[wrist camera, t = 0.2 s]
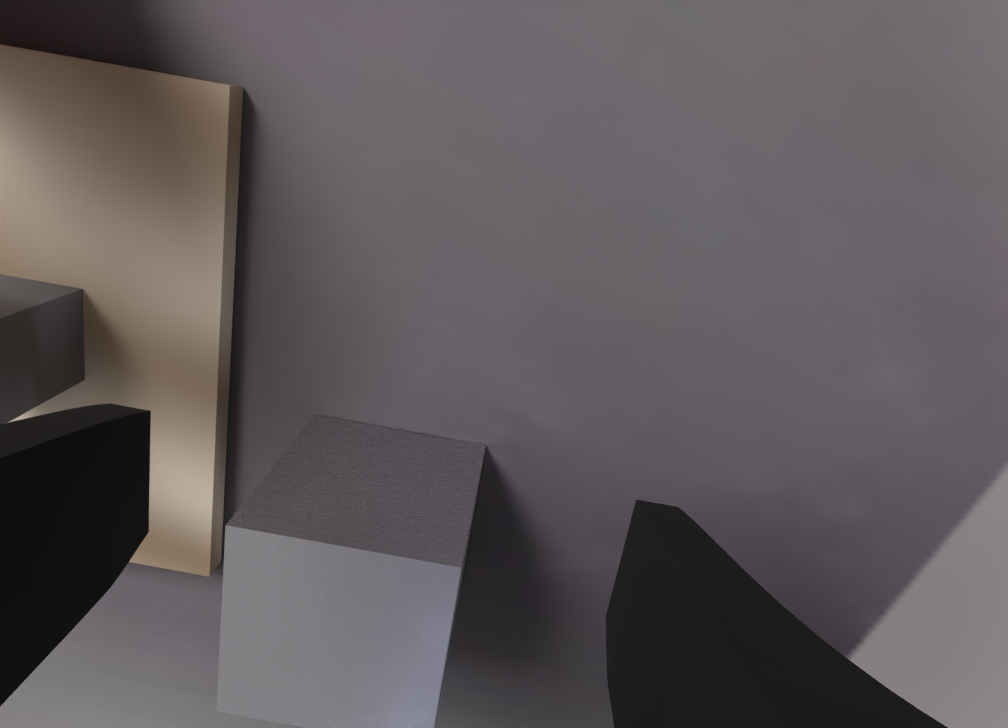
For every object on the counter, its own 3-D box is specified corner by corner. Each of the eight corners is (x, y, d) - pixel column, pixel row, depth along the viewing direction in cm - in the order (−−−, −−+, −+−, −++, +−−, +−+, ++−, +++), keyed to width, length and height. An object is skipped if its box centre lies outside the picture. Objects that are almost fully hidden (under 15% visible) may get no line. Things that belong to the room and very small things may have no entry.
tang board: (220, 561, 23) (148, 658, 18) (-94, 504, 23) (-237, 588, 18) (243, 87, 18) (153, 76, 14) (-151, 17, 18) (-355, -14, 14)
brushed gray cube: (460, 590, 22) (429, 750, 17) (300, 561, 22) (216, 711, 17) (485, 445, 21) (461, 568, 15) (314, 414, 21) (225, 525, 15)
